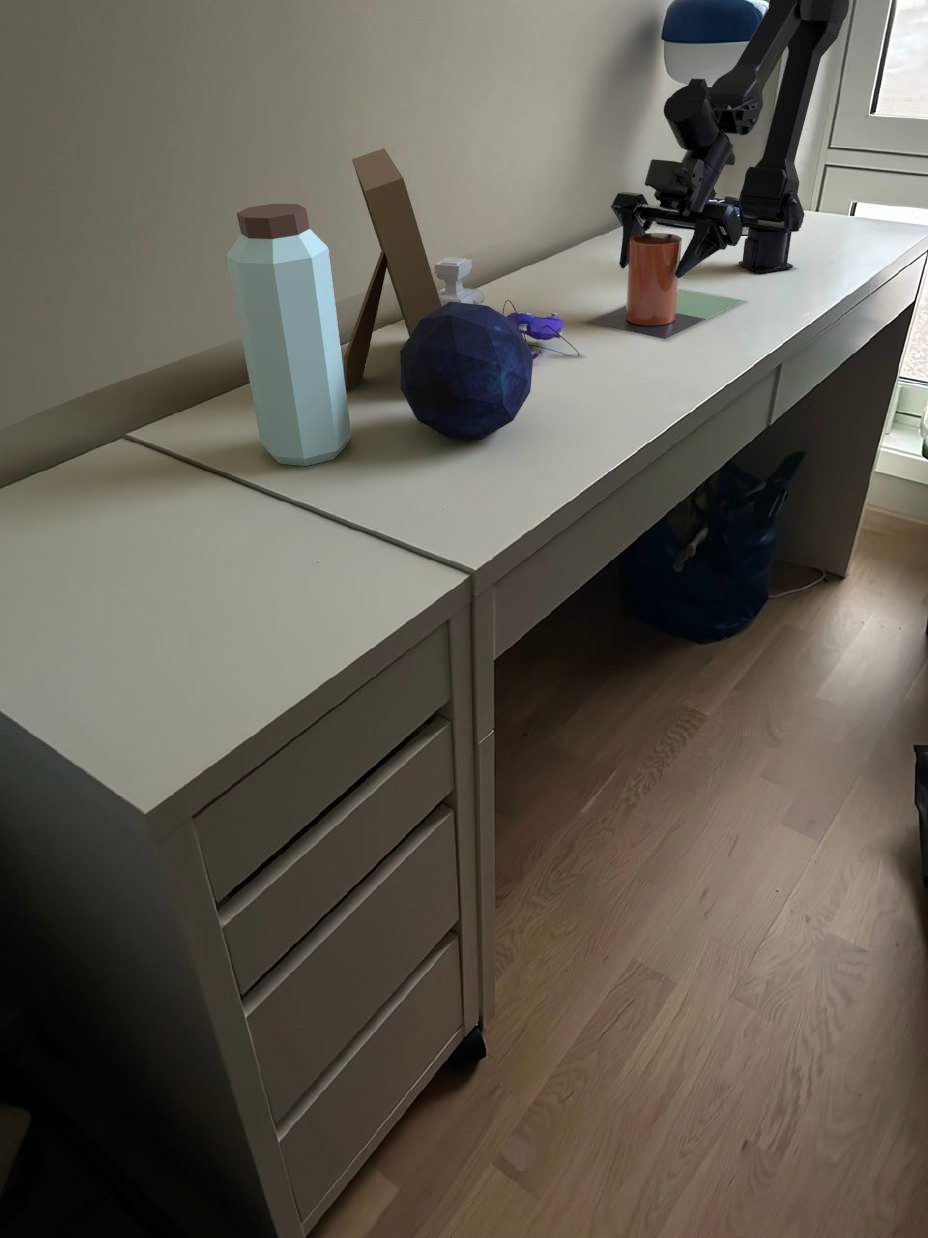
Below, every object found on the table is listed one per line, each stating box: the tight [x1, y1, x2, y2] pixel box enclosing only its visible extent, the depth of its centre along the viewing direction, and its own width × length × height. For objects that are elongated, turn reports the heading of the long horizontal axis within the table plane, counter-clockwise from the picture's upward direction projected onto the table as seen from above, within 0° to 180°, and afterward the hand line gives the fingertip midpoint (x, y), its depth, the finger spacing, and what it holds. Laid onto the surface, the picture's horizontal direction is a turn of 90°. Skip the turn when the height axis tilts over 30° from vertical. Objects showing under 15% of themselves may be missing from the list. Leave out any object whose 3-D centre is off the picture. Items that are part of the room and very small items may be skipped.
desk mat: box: [588, 288, 743, 340], centre depth 139 cm, size 21×13×1 cm, turn 137°
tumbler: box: [625, 232, 683, 326], centre depth 133 cm, size 7×7×11 cm
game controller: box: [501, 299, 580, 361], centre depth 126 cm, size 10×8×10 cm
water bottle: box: [226, 203, 352, 467], centre depth 98 cm, size 10×10×25 cm
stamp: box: [434, 256, 486, 306], centre depth 139 cm, size 9×7×8 cm
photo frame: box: [343, 147, 442, 391], centre depth 118 cm, size 15×22×25 cm
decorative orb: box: [399, 302, 534, 441], centre depth 103 cm, size 14×15×15 cm
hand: (648, 271), depth 132 cm, fingers open, 9 cm apart
